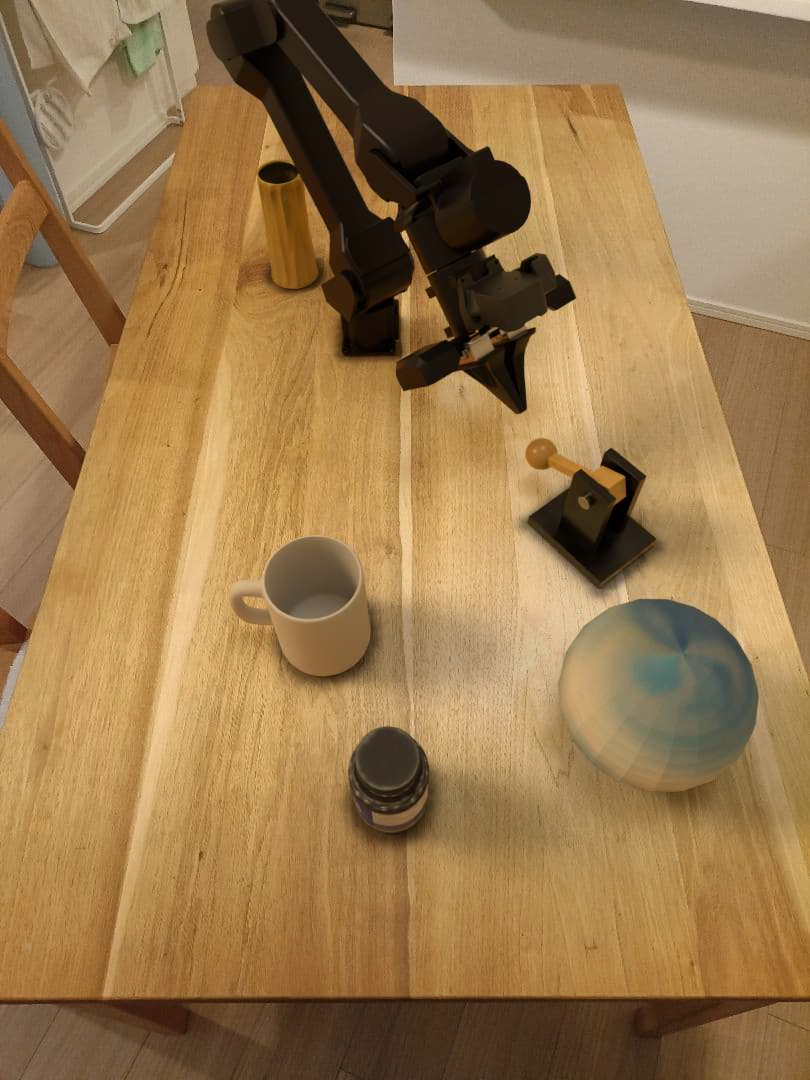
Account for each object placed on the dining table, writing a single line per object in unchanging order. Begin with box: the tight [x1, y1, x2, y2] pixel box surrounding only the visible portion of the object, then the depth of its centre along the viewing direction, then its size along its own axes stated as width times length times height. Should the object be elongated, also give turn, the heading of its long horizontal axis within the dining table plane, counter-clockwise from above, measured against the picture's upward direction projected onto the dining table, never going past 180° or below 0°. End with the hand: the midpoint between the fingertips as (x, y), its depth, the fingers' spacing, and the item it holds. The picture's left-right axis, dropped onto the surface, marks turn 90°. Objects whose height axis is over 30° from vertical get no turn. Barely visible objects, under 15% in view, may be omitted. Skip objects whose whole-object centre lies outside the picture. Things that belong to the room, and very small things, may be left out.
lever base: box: [527, 447, 657, 589], centre depth 74 cm, size 10×8×10 cm
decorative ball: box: [557, 598, 760, 793], centre depth 61 cm, size 15×15×15 cm
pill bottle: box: [347, 725, 430, 834], centre depth 59 cm, size 6×6×11 cm
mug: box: [228, 534, 371, 677], centre depth 68 cm, size 12×8×11 cm
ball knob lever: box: [524, 437, 626, 505], centre depth 74 cm, size 12×3×3 cm, turn 38°
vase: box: [255, 158, 319, 290], centre depth 94 cm, size 6×6×14 cm
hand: (521, 412), depth 76 cm, fingers closed
